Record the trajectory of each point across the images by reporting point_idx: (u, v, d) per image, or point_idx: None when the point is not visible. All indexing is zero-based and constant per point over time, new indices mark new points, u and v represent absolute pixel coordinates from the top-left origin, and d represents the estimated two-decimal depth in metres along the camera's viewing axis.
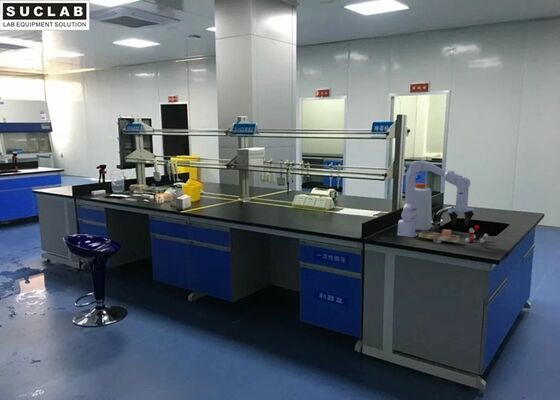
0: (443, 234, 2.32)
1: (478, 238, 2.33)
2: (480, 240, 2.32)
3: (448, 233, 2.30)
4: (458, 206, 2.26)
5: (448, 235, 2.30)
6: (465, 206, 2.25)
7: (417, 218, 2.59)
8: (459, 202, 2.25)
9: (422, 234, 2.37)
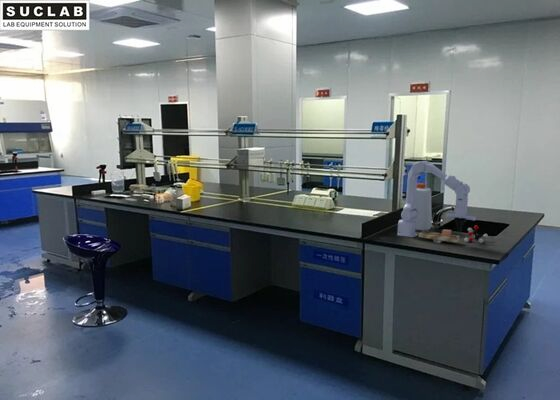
0: (443, 234, 2.32)
1: (477, 238, 2.33)
2: (479, 240, 2.32)
3: (448, 233, 2.30)
4: (455, 212, 2.27)
5: (448, 235, 2.30)
6: (460, 212, 2.24)
7: (417, 218, 2.59)
8: (455, 208, 2.26)
9: (422, 234, 2.37)
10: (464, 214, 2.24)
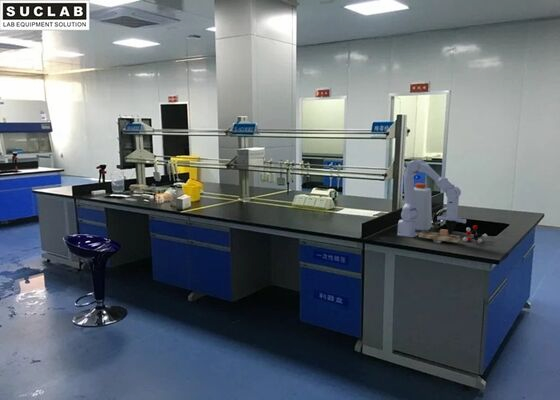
0: (441, 234, 2.32)
1: (476, 238, 2.34)
2: (478, 240, 2.33)
3: (446, 233, 2.31)
4: (446, 214, 2.30)
5: (446, 235, 2.31)
6: (451, 215, 2.27)
7: (417, 218, 2.59)
8: (446, 210, 2.29)
9: (422, 234, 2.37)
10: (455, 217, 2.27)
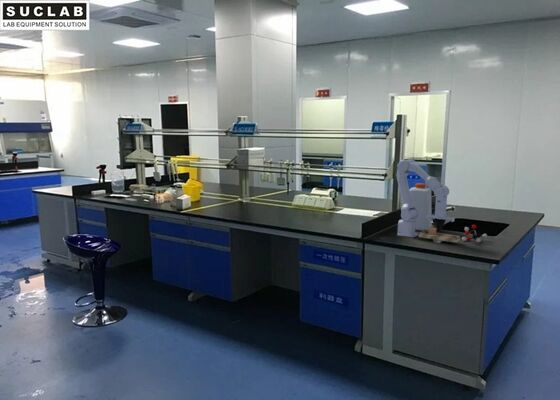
0: (430, 232, 2.36)
1: (475, 237, 2.35)
2: (477, 239, 2.33)
3: (434, 231, 2.34)
4: None
5: (434, 233, 2.34)
6: (439, 214, 2.31)
7: (417, 218, 2.59)
8: (435, 209, 2.33)
9: (422, 234, 2.37)
10: (443, 215, 2.30)
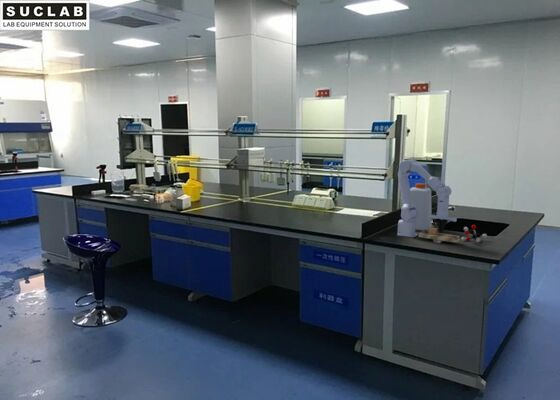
0: (430, 232, 2.36)
1: (475, 237, 2.35)
2: (476, 239, 2.34)
3: (434, 231, 2.34)
4: (437, 213, 2.33)
5: (434, 233, 2.34)
6: (441, 214, 2.30)
7: (417, 218, 2.59)
8: (437, 209, 2.32)
9: (422, 234, 2.37)
10: (445, 215, 2.30)
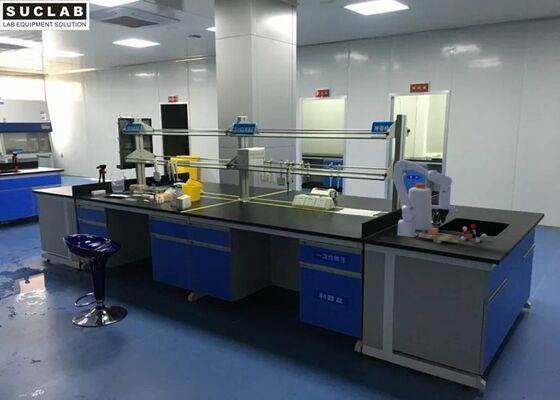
0: (430, 232, 2.36)
1: (474, 237, 2.35)
2: (475, 240, 2.34)
3: (434, 231, 2.34)
4: None
5: (434, 233, 2.34)
6: (443, 204, 2.33)
7: (417, 218, 2.59)
8: (439, 199, 2.35)
9: (422, 234, 2.37)
10: (447, 205, 2.33)
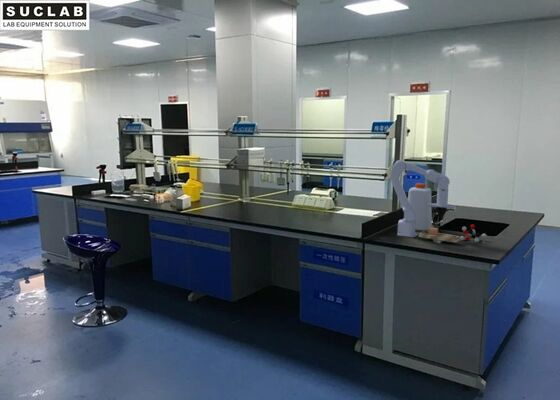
0: (430, 232, 2.36)
1: (473, 237, 2.36)
2: (475, 239, 2.34)
3: (434, 231, 2.34)
4: None
5: (434, 233, 2.34)
6: (441, 202, 2.38)
7: (417, 218, 2.59)
8: (437, 198, 2.40)
9: (422, 234, 2.37)
10: (445, 204, 2.38)
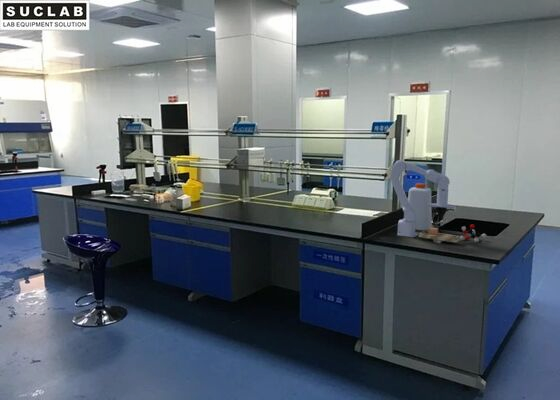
0: (430, 232, 2.36)
1: (473, 237, 2.36)
2: (474, 239, 2.35)
3: (434, 231, 2.34)
4: None
5: (434, 233, 2.34)
6: (441, 202, 2.38)
7: (417, 218, 2.59)
8: (437, 198, 2.40)
9: (422, 234, 2.37)
10: (445, 204, 2.38)
